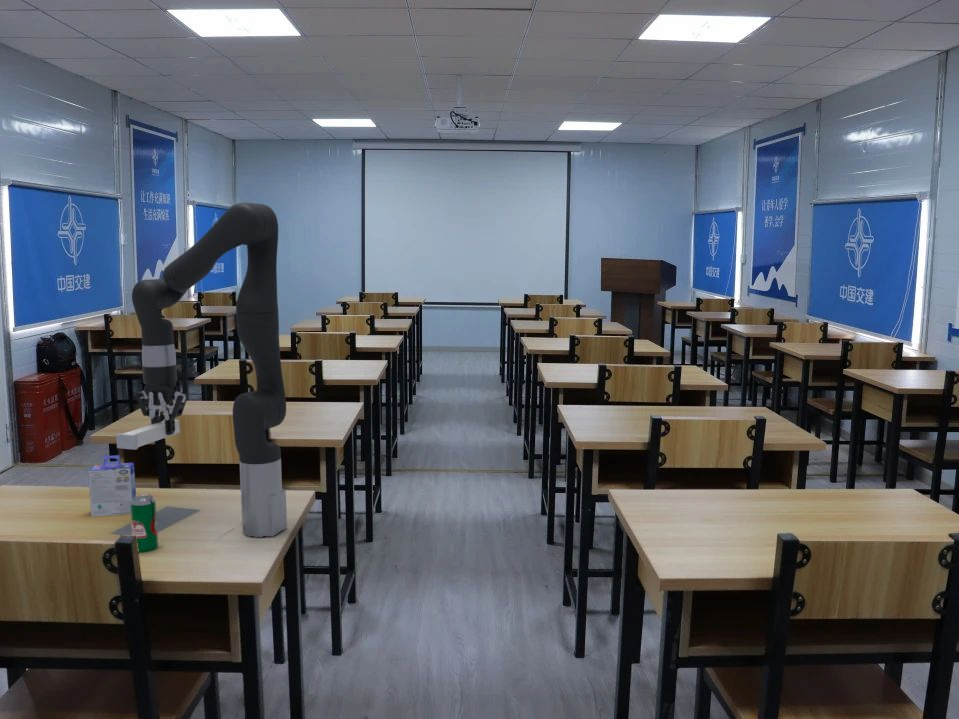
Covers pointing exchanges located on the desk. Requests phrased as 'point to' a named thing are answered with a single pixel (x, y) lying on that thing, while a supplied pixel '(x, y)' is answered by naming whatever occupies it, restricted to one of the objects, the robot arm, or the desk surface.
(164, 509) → the mat
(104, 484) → the ink cartridge box
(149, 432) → the white square rod
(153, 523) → the soda can
